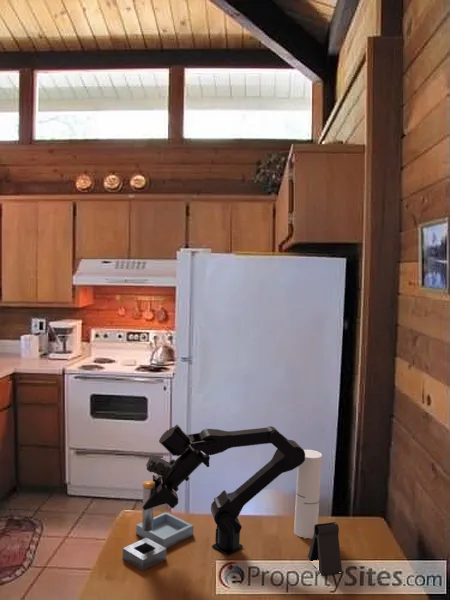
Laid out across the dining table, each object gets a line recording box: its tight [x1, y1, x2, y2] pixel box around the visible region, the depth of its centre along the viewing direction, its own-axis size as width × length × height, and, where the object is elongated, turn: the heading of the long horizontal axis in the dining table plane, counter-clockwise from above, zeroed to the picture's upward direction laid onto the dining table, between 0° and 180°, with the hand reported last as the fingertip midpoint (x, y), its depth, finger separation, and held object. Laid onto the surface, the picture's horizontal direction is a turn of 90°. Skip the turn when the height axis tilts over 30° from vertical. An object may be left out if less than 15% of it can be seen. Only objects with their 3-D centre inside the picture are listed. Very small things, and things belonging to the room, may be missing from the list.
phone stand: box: [307, 521, 343, 577], centre depth 155 cm, size 9×6×12 cm, turn 17°
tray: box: [135, 511, 194, 549], centre depth 168 cm, size 12×12×3 cm
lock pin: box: [141, 480, 155, 531], centre depth 157 cm, size 3×3×13 cm
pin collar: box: [122, 538, 167, 571], centre depth 155 cm, size 8×8×3 cm
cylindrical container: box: [293, 449, 323, 539], centre depth 172 cm, size 7×7×25 cm
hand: (143, 506), depth 157 cm, fingers closed on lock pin, 3 cm apart
